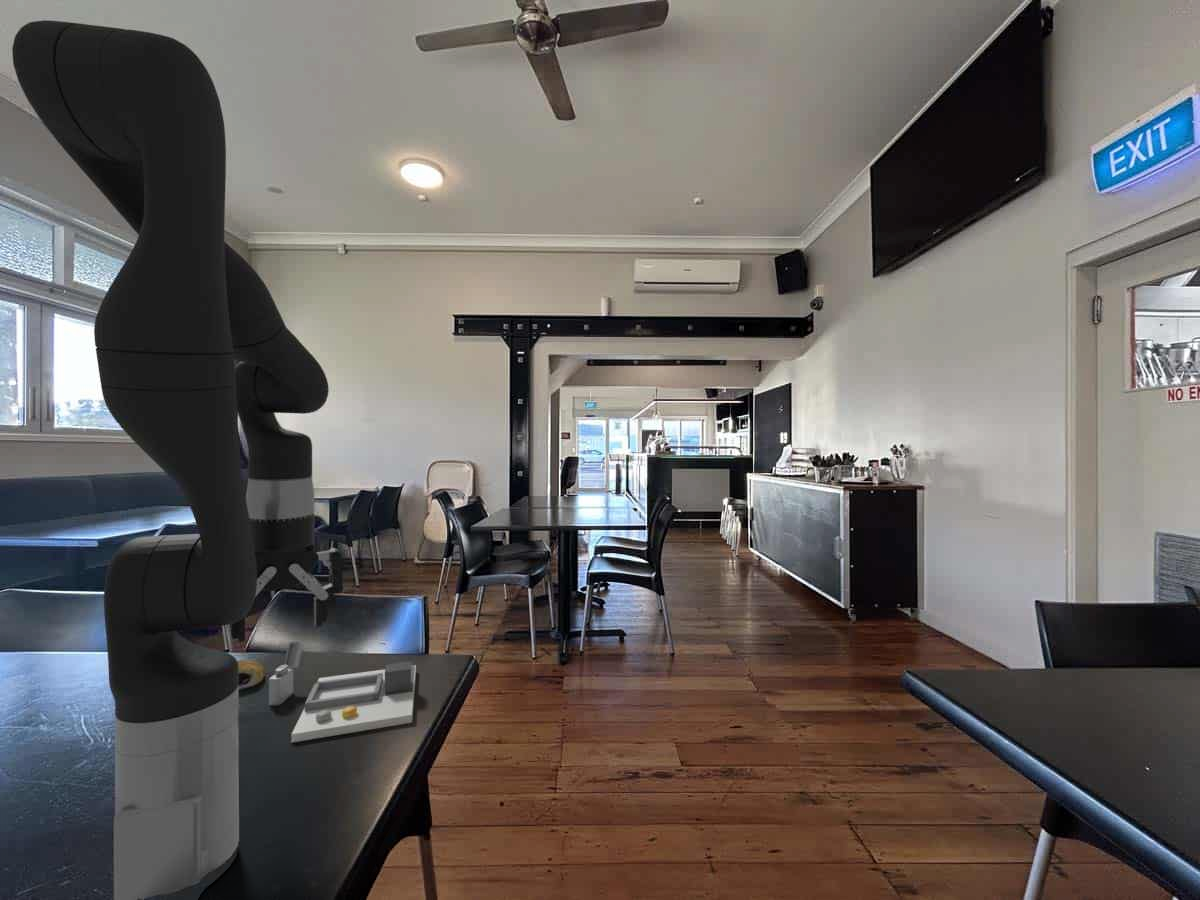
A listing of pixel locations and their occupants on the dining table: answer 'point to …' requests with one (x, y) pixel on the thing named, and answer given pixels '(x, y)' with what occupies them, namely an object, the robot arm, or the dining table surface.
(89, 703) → the dining table surface
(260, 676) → the pastry
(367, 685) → the board
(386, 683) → the block
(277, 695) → the lighter
